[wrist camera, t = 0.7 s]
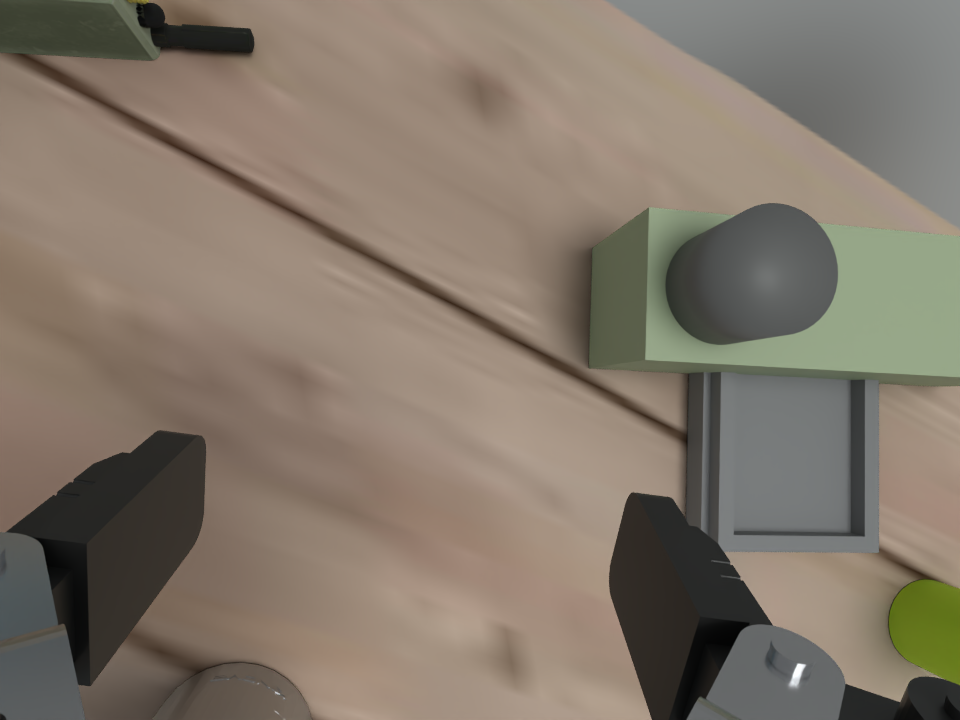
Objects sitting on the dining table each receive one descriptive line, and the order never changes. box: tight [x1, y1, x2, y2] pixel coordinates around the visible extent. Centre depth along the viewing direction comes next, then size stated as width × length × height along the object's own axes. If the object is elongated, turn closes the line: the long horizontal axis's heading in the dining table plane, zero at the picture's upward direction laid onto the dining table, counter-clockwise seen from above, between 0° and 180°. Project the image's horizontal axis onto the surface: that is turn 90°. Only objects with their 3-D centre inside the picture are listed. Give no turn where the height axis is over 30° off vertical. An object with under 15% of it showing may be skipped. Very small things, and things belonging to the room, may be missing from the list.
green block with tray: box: [589, 203, 960, 553], centre depth 36 cm, size 19×26×14 cm
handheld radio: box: [0, 0, 254, 60], centre depth 34 cm, size 7×3×25 cm
